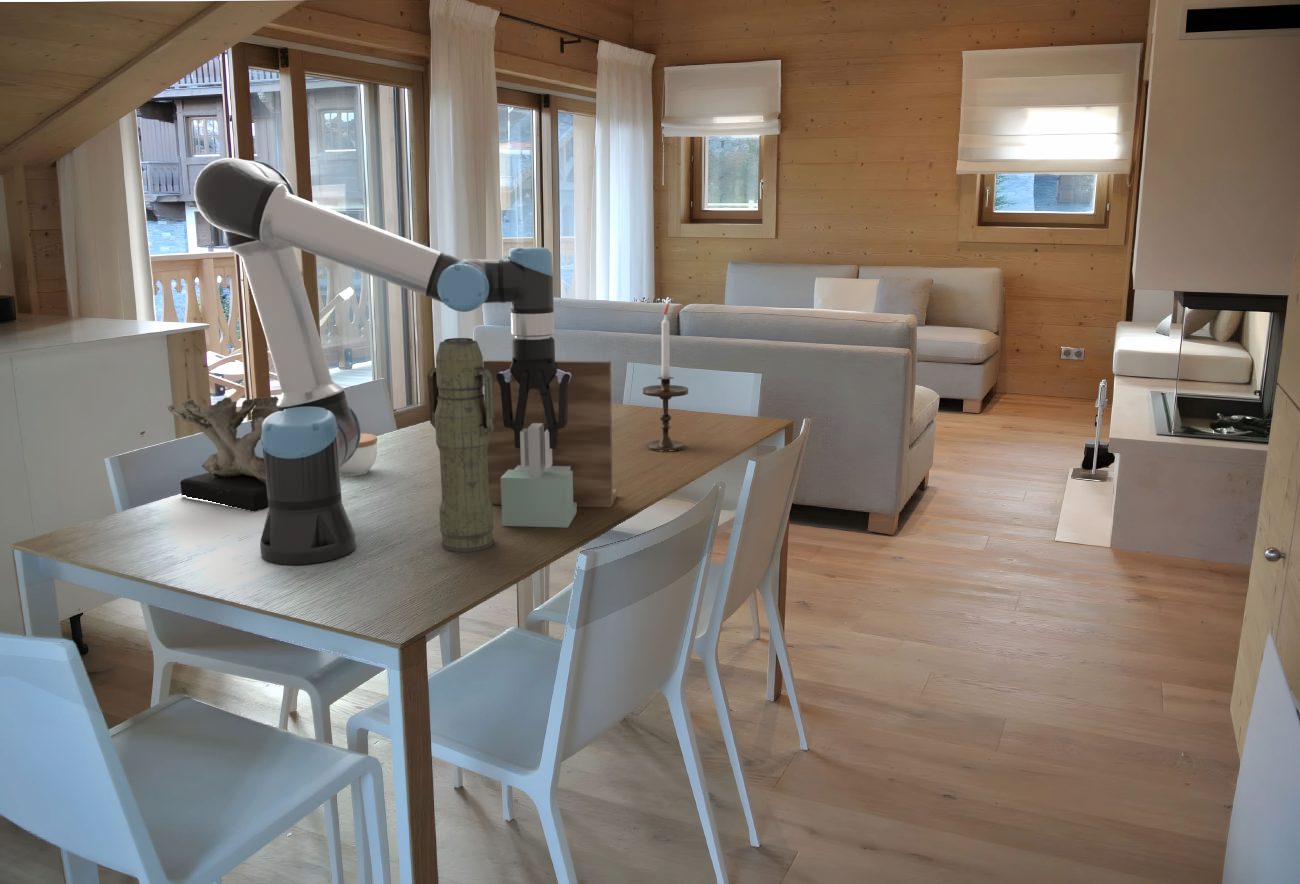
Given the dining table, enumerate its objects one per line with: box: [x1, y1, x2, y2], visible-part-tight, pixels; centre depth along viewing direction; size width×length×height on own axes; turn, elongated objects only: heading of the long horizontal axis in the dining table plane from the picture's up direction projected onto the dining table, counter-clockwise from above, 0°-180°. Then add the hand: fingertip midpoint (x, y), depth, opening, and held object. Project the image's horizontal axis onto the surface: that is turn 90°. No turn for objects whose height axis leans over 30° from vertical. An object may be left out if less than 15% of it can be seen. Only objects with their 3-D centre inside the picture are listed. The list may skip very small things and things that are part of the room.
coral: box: [166, 395, 279, 513], centre depth 197 cm, size 25×20×21 cm
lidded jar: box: [339, 432, 378, 477], centre depth 220 cm, size 11×11×9 cm
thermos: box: [426, 337, 495, 553], centre depth 169 cm, size 9×12×35 cm
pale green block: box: [501, 423, 578, 528], centre depth 185 cm, size 9×12×18 cm
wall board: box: [483, 359, 618, 508], centre depth 194 cm, size 11×24×28 cm, turn 84°
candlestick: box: [642, 301, 689, 451], centre depth 240 cm, size 11×11×35 cm
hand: (536, 465), depth 183 cm, fingers open, 4 cm apart
